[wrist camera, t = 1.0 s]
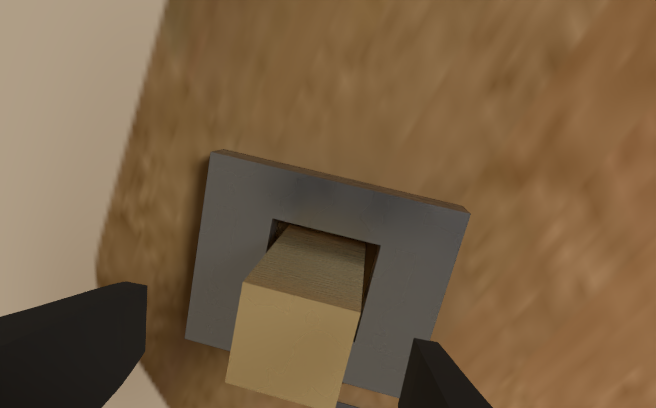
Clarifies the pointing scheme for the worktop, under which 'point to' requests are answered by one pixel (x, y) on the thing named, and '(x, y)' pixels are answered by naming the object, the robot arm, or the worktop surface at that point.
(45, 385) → the robot arm
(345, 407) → the rubber mat
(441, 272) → the socket plate
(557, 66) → the worktop surface
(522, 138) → the worktop surface
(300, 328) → the brass peg
